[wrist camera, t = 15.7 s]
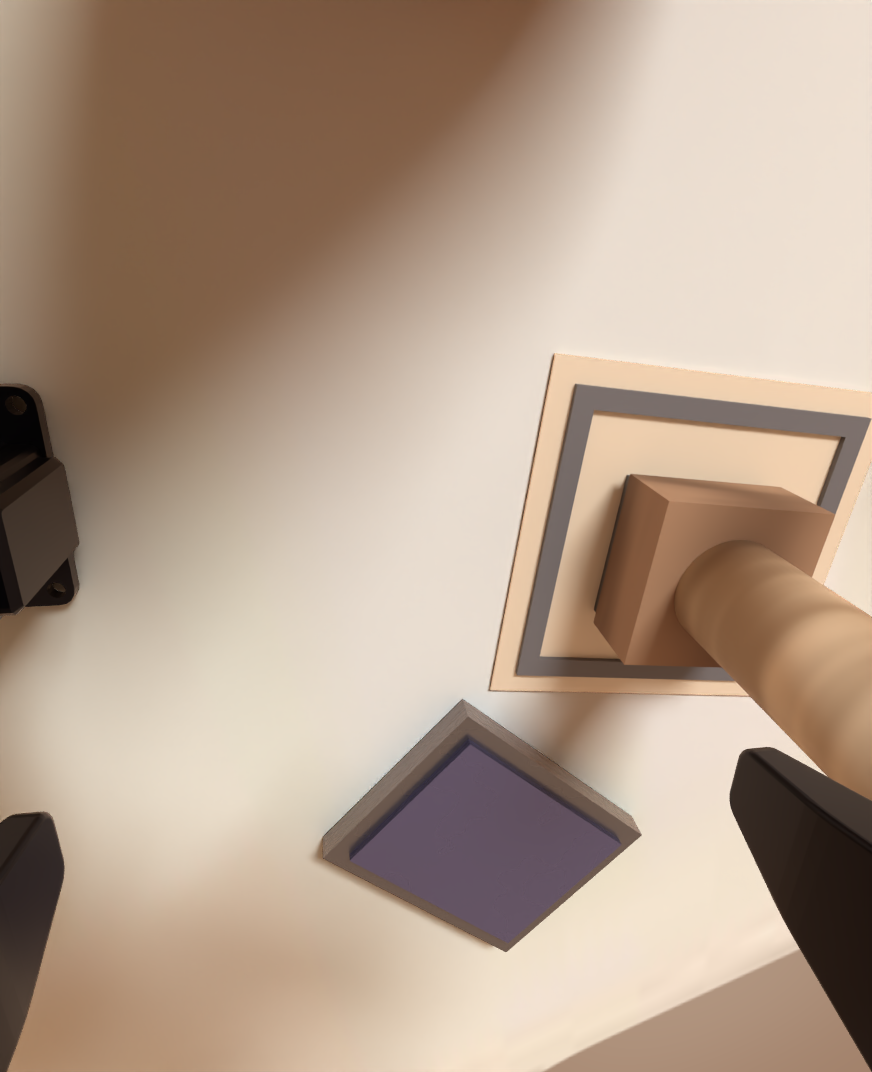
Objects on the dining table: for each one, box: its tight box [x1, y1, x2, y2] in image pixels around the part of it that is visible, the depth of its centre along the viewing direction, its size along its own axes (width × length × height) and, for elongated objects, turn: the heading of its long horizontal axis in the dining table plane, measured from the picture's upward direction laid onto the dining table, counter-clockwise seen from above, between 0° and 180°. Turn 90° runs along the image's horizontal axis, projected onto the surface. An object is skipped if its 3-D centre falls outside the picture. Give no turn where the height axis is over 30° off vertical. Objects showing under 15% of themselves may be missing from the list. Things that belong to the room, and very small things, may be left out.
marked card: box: [490, 353, 872, 696], centre depth 23 cm, size 12×12×1 cm
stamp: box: [593, 474, 872, 801], centre depth 17 cm, size 5×5×12 cm
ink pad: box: [323, 699, 642, 952], centre depth 26 cm, size 10×8×1 cm
